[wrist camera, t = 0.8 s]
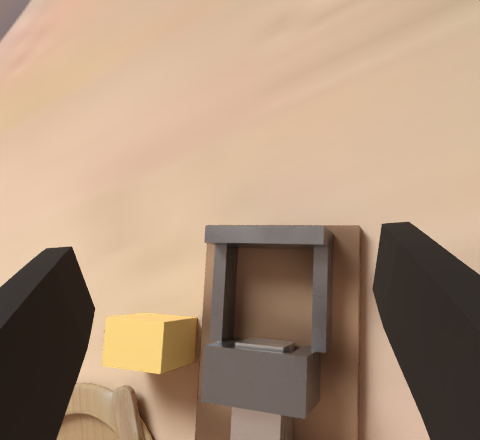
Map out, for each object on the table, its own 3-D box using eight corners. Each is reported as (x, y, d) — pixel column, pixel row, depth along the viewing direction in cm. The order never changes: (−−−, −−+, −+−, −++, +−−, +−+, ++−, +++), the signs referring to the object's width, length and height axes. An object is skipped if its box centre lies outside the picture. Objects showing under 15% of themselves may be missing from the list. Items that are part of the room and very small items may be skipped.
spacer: (194, 362, 29) (160, 374, 25) (142, 355, 31) (101, 365, 27) (197, 317, 30) (164, 322, 26) (145, 312, 31) (106, 316, 27)
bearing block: (320, 400, 25) (305, 419, 21) (228, 386, 27) (200, 401, 24) (321, 347, 26) (307, 356, 22) (230, 337, 28) (204, 345, 24)
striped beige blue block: (292, 466, 25) (278, 487, 22) (245, 456, 26) (227, 475, 23) (296, 341, 26) (283, 347, 23) (251, 337, 27) (233, 342, 24)
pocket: (331, 348, 25) (320, 356, 22) (222, 337, 28) (198, 343, 25) (333, 233, 26) (323, 225, 23) (227, 232, 29) (205, 225, 26)
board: (357, 483, 25) (355, 490, 24) (200, 450, 28) (193, 455, 27) (360, 227, 27) (359, 225, 26) (214, 227, 30) (208, 225, 29)
